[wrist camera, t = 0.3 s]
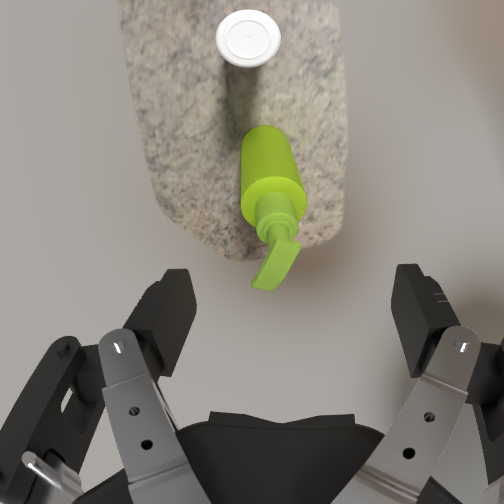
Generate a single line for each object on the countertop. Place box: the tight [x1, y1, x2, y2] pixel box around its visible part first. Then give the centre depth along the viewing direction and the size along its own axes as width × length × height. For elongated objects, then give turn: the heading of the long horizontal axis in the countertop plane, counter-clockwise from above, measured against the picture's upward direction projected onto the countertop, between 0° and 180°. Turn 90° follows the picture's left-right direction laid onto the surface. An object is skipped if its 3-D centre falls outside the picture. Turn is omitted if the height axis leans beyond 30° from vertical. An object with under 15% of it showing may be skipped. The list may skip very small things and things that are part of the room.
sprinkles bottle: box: [215, 10, 281, 68], centre depth 23 cm, size 5×5×13 cm
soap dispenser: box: [241, 125, 307, 292], centre depth 30 cm, size 6×7×20 cm
